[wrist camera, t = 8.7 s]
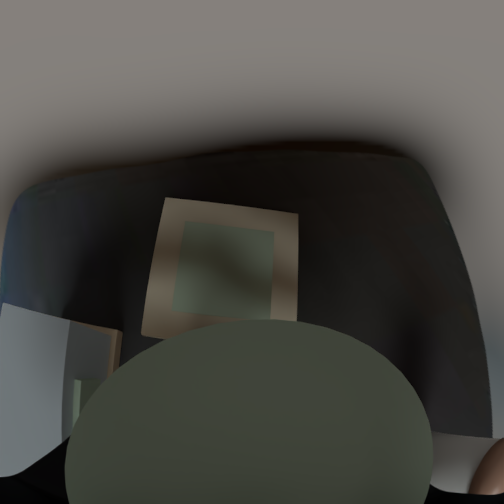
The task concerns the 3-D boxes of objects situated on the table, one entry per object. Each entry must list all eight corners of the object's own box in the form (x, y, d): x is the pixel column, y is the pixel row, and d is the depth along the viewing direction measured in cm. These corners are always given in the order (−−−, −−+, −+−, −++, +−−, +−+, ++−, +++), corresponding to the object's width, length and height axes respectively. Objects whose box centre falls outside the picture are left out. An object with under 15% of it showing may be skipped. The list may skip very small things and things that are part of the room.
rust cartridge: (417, 472, 19) (521, 498, 7) (364, 486, 18) (467, 537, 6) (424, 415, 21) (539, 418, 9) (371, 425, 20) (492, 447, 8)
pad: (290, 350, 22) (295, 349, 20) (144, 335, 20) (140, 334, 19) (294, 220, 26) (298, 213, 25) (167, 204, 25) (165, 196, 23)
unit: (115, 487, 15) (77, 534, 8) (53, 467, 15) (-1, 496, 7) (122, 332, 20) (78, 312, 12) (60, 319, 20) (0, 292, 12)
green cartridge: (289, 429, 14) (470, 518, 2) (187, 464, 13) (161, 643, 1) (251, 333, 16) (379, 225, 4) (147, 366, 14) (-16, 345, 3)
